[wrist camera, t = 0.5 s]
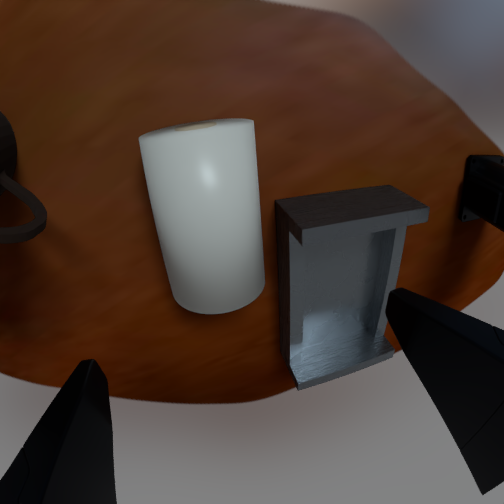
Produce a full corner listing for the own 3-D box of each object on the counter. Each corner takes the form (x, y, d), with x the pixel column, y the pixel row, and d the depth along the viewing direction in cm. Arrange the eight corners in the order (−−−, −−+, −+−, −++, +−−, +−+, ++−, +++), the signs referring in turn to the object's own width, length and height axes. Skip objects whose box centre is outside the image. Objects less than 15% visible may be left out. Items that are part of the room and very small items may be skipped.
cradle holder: (389, 184, 21) (429, 207, 17) (368, 325, 28) (392, 357, 25) (274, 200, 20) (302, 229, 16) (280, 351, 27) (297, 390, 23)
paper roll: (143, 129, 16) (132, 144, 11) (239, 114, 17) (268, 123, 12) (171, 269, 20) (175, 324, 16) (251, 253, 21) (277, 302, 17)
